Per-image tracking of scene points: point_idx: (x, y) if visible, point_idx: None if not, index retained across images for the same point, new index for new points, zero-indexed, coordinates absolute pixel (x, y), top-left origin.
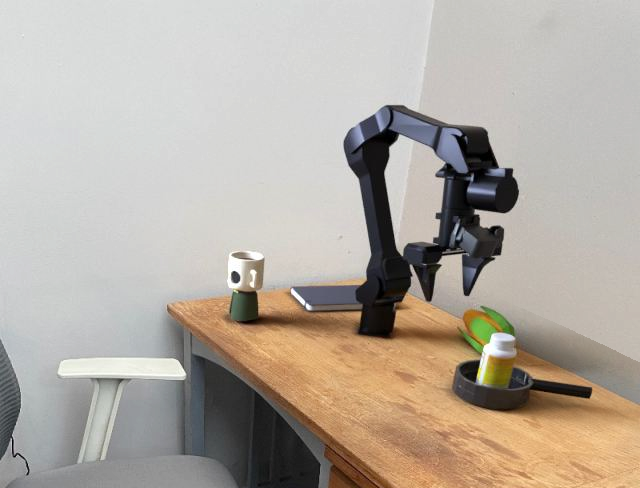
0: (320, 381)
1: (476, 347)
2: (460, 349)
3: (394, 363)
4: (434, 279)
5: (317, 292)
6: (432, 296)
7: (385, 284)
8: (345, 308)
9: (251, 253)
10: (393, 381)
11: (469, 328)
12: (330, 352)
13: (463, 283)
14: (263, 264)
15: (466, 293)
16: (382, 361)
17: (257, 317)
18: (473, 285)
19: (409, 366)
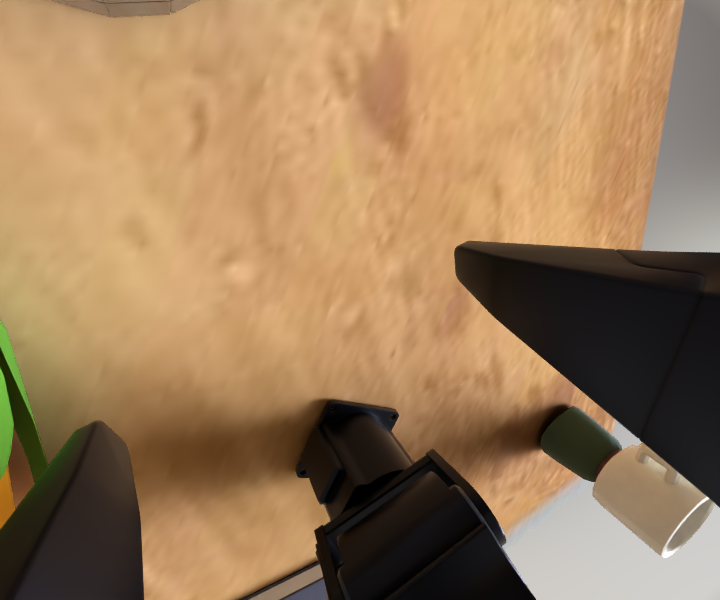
0: (590, 102)
1: (2, 328)
2: (81, 358)
3: (379, 215)
4: (640, 273)
5: None
6: (480, 253)
7: (473, 506)
8: None
9: (665, 551)
10: (437, 66)
11: (8, 473)
12: None
13: (135, 550)
14: (658, 515)
15: (108, 443)
16: (406, 231)
17: (551, 425)
18: (14, 522)
19: (343, 189)
